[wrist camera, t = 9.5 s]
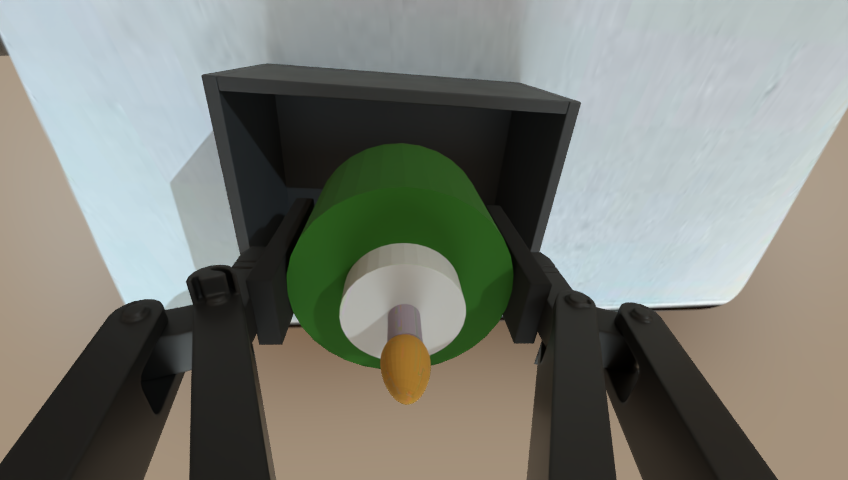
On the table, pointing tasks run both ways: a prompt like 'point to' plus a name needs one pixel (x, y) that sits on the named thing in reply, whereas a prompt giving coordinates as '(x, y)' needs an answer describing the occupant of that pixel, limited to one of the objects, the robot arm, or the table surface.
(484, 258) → the candle
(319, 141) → the dark grey open box
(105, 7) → the table surface
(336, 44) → the table surface
